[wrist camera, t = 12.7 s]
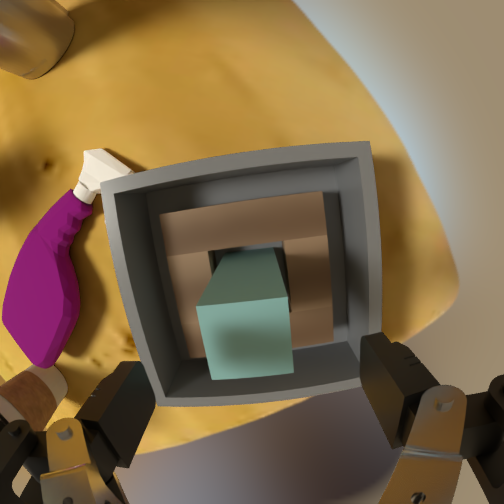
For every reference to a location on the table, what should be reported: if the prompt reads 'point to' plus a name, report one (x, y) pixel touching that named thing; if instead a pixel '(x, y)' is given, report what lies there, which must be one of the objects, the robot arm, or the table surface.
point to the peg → (246, 317)
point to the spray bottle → (54, 267)
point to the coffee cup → (32, 396)
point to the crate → (232, 190)
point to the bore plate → (250, 233)
